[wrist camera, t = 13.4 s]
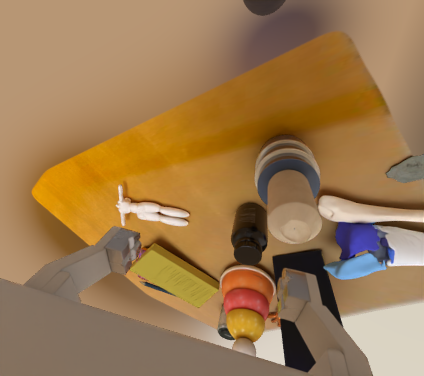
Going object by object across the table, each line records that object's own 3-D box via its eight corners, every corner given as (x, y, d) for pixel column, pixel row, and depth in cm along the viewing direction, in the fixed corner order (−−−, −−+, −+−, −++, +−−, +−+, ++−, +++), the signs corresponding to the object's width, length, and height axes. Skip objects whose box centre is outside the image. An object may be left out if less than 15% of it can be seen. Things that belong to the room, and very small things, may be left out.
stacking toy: (212, 280, 60) (191, 360, 44) (238, 251, 53) (225, 335, 36) (255, 304, 61) (250, 392, 45) (287, 279, 54) (295, 374, 37)
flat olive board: (151, 249, 52) (225, 294, 59) (154, 242, 54) (225, 286, 61) (129, 269, 58) (198, 308, 65) (132, 263, 60) (199, 301, 67)
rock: (382, 166, 37) (392, 189, 38) (389, 171, 35) (399, 195, 36) (449, 137, 33) (456, 163, 34) (460, 141, 31) (468, 168, 33)
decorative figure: (190, 201, 47) (110, 186, 48) (186, 241, 53) (115, 228, 54) (193, 192, 50) (118, 179, 51) (188, 231, 56) (121, 219, 57)
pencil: (184, 295, 67) (140, 280, 61) (183, 299, 66) (138, 283, 61) (183, 294, 67) (139, 279, 62) (182, 298, 67) (138, 282, 61)
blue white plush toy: (461, 300, 37) (537, 281, 28) (310, 281, 40) (335, 258, 31) (426, 234, 45) (478, 202, 36) (302, 221, 48) (320, 189, 39)
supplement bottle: (231, 220, 49) (221, 260, 39) (243, 197, 46) (235, 234, 35) (259, 231, 49) (257, 275, 39) (273, 209, 45) (274, 250, 35)
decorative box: (272, 256, 51) (283, 270, 57) (295, 454, 31) (309, 445, 37) (320, 249, 47) (327, 265, 52) (384, 473, 27) (385, 461, 32)
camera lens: (225, 298, 63) (220, 325, 57) (245, 306, 63) (242, 334, 56) (219, 309, 67) (213, 336, 60) (238, 317, 66) (235, 345, 60)
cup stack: (262, 128, 38) (261, 148, 29) (319, 138, 37) (336, 162, 27) (251, 176, 43) (247, 207, 33) (301, 186, 42) (311, 220, 32)
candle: (260, 194, 32) (258, 240, 23) (279, 162, 29) (284, 202, 20) (295, 209, 32) (305, 260, 23) (317, 179, 29) (337, 225, 20)
